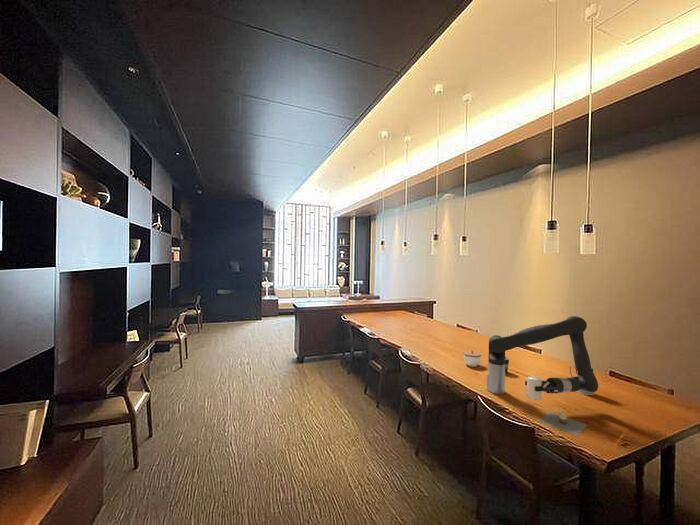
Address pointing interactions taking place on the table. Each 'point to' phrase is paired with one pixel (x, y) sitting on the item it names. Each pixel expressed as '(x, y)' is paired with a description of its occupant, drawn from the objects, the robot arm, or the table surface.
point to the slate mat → (570, 424)
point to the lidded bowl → (472, 358)
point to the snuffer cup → (533, 388)
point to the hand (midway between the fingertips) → (530, 386)
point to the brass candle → (563, 418)
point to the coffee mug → (506, 364)
